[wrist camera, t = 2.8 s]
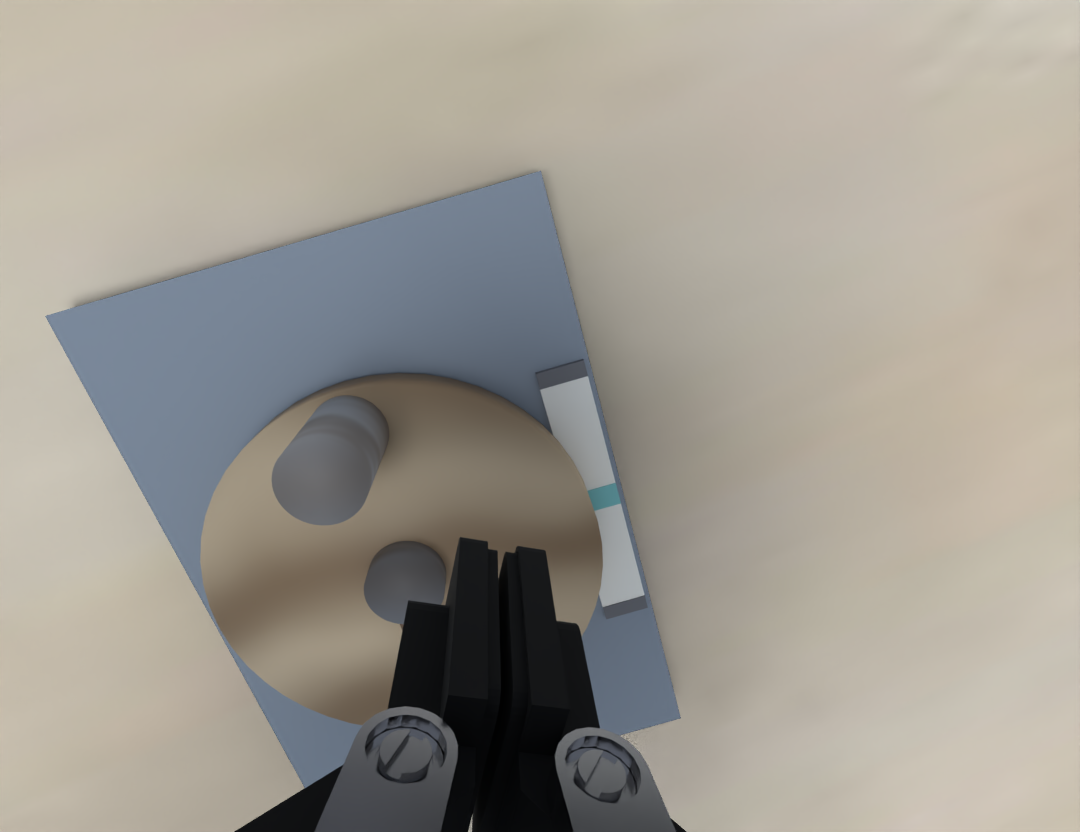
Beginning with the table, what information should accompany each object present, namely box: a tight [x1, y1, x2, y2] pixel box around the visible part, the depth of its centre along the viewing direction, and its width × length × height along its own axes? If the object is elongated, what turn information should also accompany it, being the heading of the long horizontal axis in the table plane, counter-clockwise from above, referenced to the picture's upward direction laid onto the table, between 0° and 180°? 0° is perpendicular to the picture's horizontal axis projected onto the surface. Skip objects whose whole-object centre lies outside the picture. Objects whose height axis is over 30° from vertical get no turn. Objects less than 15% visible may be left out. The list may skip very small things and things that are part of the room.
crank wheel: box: [200, 373, 603, 725], centre depth 22 cm, size 15×14×6 cm
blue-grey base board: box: [45, 171, 681, 788], centre depth 26 cm, size 24×17×2 cm
